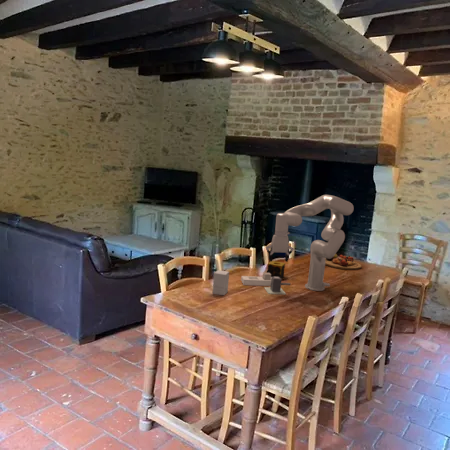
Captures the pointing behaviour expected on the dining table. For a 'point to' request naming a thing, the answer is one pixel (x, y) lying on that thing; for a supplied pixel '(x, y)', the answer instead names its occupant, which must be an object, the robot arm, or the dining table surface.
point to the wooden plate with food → (342, 262)
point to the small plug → (267, 276)
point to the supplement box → (220, 282)
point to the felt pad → (274, 292)
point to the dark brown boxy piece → (276, 269)
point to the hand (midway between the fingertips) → (278, 261)
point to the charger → (275, 284)
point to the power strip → (257, 281)
